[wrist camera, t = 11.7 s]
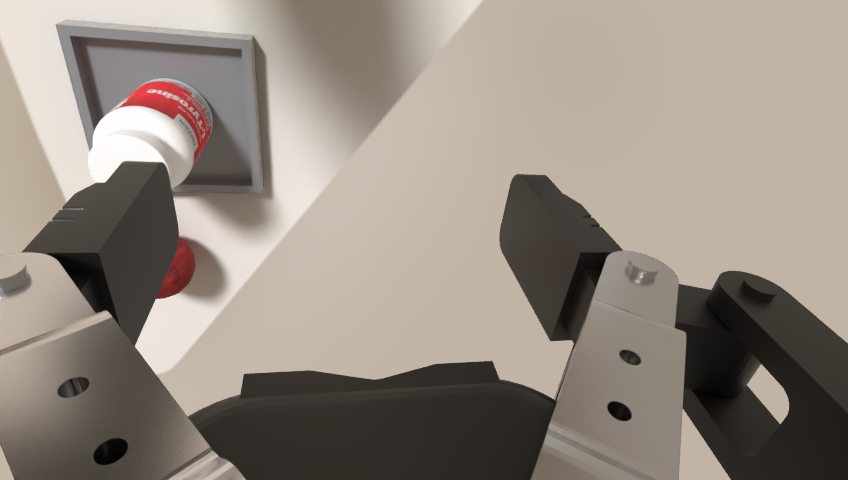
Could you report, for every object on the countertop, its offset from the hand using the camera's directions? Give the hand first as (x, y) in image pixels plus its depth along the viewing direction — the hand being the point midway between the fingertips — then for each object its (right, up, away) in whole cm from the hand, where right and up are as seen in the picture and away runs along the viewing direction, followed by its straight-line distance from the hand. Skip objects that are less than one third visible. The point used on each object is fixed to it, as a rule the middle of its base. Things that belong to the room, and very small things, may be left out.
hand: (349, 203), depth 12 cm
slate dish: (-19, +10, +29) cm, 36 cm away
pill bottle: (-19, +10, +28) cm, 35 cm away
